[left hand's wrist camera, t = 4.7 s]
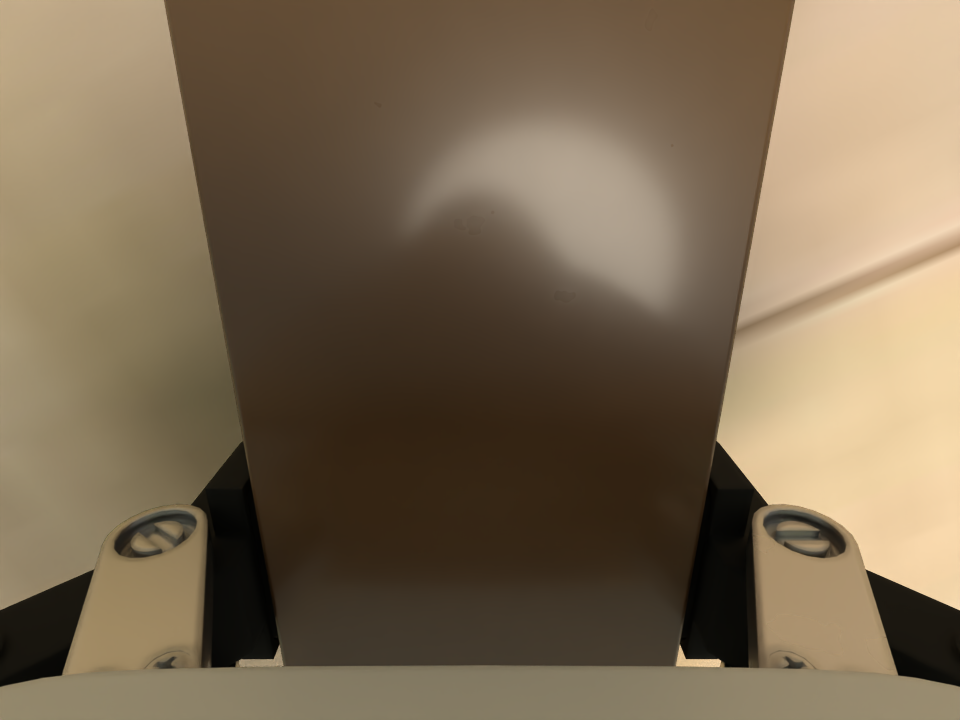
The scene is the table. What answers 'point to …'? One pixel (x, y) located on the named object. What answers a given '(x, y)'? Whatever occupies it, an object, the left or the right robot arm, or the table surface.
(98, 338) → the table surface
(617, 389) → the post
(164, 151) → the table surface
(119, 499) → the table surface
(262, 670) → the left robot arm
